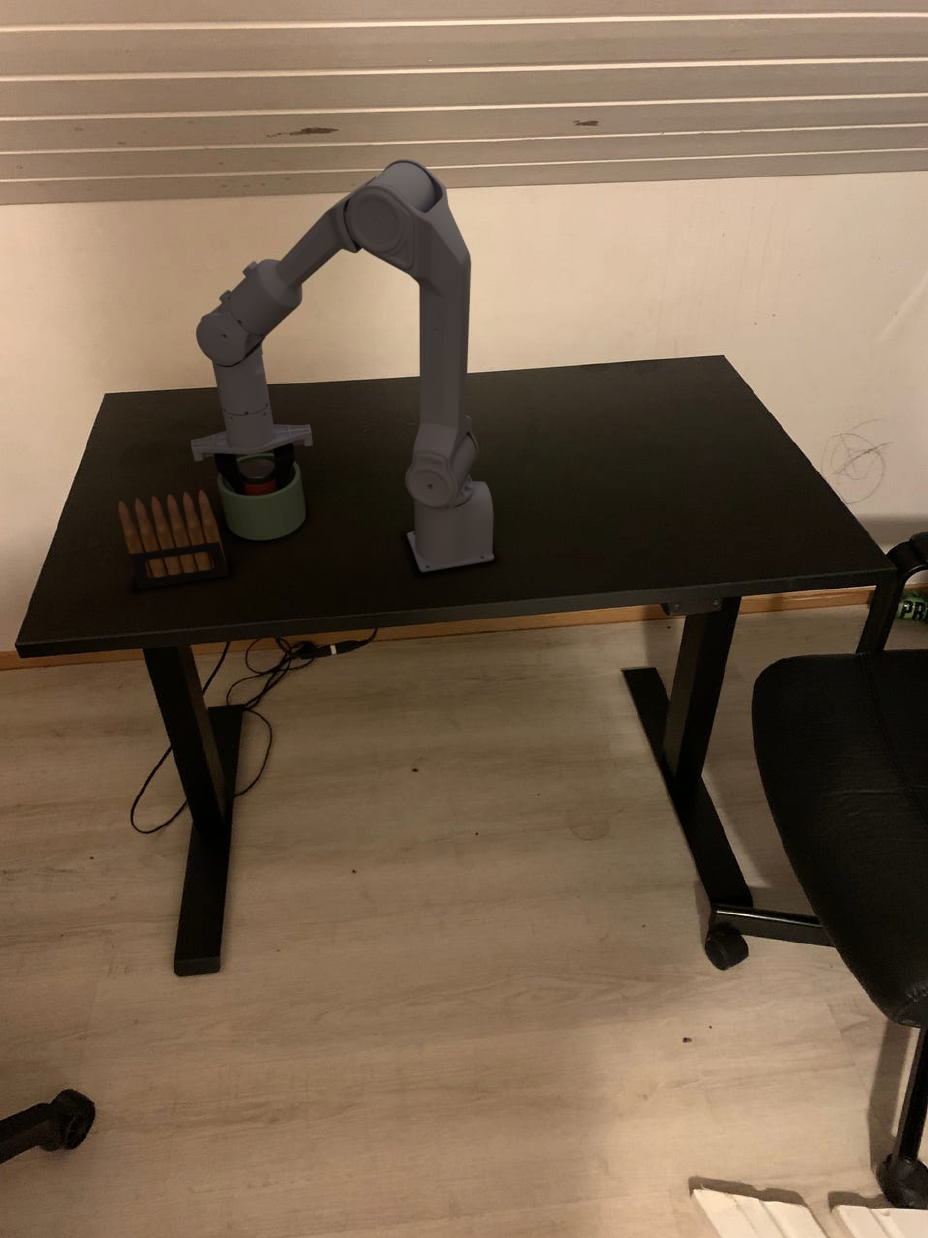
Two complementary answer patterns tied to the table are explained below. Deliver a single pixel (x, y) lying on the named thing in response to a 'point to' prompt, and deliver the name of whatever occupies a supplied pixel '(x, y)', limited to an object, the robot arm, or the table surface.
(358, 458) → the table surface
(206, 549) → the ammunition clip
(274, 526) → the cup
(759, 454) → the table surface
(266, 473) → the tin can
